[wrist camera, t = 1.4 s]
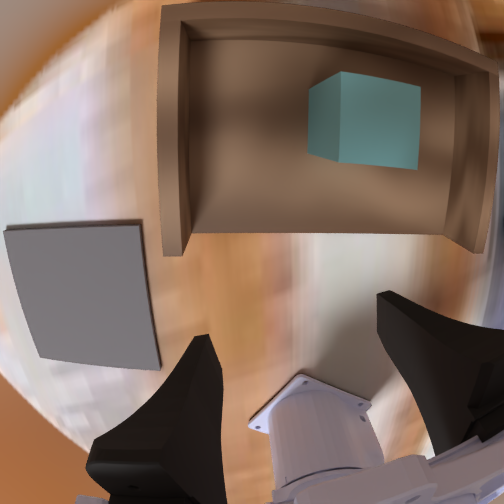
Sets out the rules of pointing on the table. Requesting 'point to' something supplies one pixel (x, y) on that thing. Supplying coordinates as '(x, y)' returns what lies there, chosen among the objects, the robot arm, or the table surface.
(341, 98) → the teal block
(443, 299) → the table surface
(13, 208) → the table surface
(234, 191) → the walnut box
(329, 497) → the robot arm
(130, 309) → the charcoal mat
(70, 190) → the table surface
